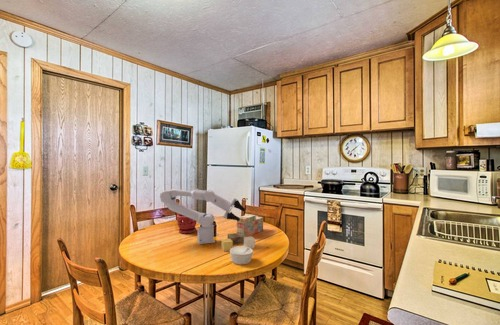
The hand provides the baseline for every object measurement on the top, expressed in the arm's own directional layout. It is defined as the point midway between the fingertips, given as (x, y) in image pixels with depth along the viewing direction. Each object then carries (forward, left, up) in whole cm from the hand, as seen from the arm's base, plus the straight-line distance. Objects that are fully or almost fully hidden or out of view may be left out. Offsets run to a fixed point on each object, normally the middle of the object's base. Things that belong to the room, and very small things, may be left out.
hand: (242, 215), depth 146 cm
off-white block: (+2, -8, -16) cm, 18 cm away
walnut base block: (-3, +3, -17) cm, 17 cm away
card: (-5, -10, -16) cm, 20 cm away
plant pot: (-29, +32, -17) cm, 46 cm away
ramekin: (-8, -25, -17) cm, 31 cm away
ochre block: (-11, -8, -16) cm, 21 cm away
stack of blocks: (+11, +16, -17) cm, 26 cm away
